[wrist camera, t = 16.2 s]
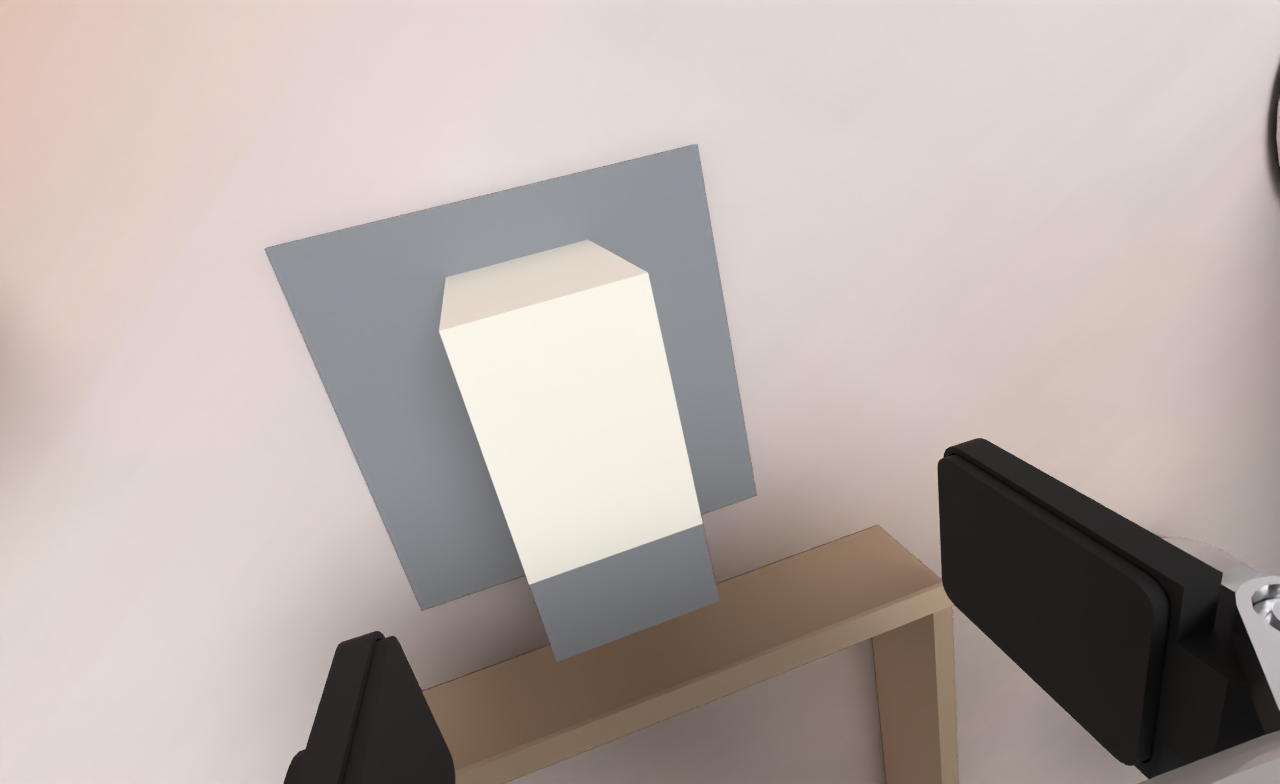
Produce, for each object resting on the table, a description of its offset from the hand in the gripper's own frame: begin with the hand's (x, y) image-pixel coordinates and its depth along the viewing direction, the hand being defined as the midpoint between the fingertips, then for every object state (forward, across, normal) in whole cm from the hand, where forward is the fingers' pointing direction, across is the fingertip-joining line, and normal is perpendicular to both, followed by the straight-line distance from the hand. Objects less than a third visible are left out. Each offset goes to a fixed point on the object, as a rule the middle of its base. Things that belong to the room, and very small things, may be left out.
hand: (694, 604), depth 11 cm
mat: (+12, +1, 0) cm, 12 cm away
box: (+12, +1, 0) cm, 12 cm away
